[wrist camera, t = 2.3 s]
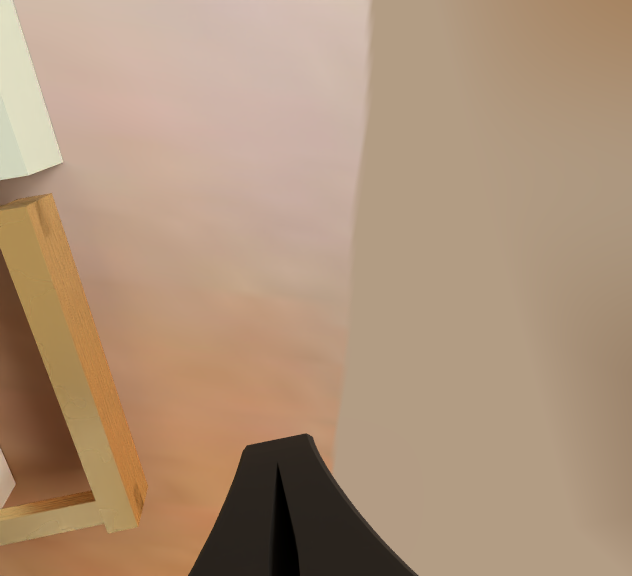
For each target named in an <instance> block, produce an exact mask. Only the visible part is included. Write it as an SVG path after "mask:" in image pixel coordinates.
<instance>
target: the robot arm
mask: <svg viewBox="0 0 632 576" xmlns="http://www.w3.org/2000/svg"><path fill="white" fill-rule="evenodd" d="M188 576H418V575H417V574H416V573H415V572H414V571H413V570H411V568H410V567H409V566H408V565H407V564H405V562H404V561H402V559H401V558H400V557H399V556H398V555H397V554H396V553H395V552H394V551H393V550H392V549H390V547H389V546H388V545H387V544H386V543H385V542H384V541H383V540H382V539H381V538H380V536H379V535H378V534H377V533H376V532H375V531H374V530H373V528H372V527H371V526H370V525H369V524H368V522H367V521H366V520H365V519H364V518H363V517H362V515H361V514H360V513H359V512H358V510H357V509H356V508H355V507H354V505H353V504H352V503H351V501H350V500H349V499H348V497H347V496H346V494H345V493H344V492H343V490H342V489H341V488H340V486H339V485H338V484H337V482H336V480H335V479H334V477H333V476H332V474H331V473H330V471H329V470H328V468H327V466H326V465H325V463H324V461H323V459H322V458H321V456H320V454H319V452H318V450H317V447H316V445H315V443H314V440H313V437H312V436H310V435H308V434H307V433H306V434H301V435H296V436H291V437H286V438H281V439H277V440H272V441H267V442H262V443H257V444H252V445H247V446H246V448H245V449H244V450H243V452H242V456H241V459H240V462H239V465H238V468H237V471H236V474H235V477H234V480H233V482H232V485H231V487H230V490H229V492H228V495H227V497H226V500H225V502H224V504H223V506H222V509H221V511H220V513H219V516H218V518H217V520H216V522H215V525H214V527H213V529H212V531H211V533H210V535H209V537H208V539H207V541H206V543H205V545H204V547H203V549H202V550H201V552H200V554H199V556H198V558H197V560H196V562H195V564H194V566H193V568H192V570H191V571H190V573H189V575H188Z"/></svg>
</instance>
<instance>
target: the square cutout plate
mask: <svg viewBox="0 0 632 576" xmlns="http://www.w3.org/2000/svg"><path fill="white" fill-rule="evenodd" d="M60 163H63V160H62V157H61V153H60V150H59V147H58V144H57V141H56V137H55V134H54V131H53V128H52V125H51V122H50V118H49V115H48V112H47V109H46V106H45V102H44V99H43V96H42V93H41V90H40V87H39V83H38V80H37V77H36V74H35V71H34V67H33V64H32V61H31V58H30V55H29V52H28V48H27V45H26V42H25V39H24V36H23V32H22V29H21V26H20V23H19V20H18V17H17V13H16V10H15V7H14V4H13V1H12V0H0V180H4V179H10V178H16V177H22V176H28V175H31V174H34V173H36V172H39V171H42V170H44V169H47V168H50V167H52V166H55V165H58V164H60Z"/></svg>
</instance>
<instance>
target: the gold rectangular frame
mask: <svg viewBox="0 0 632 576" xmlns="http://www.w3.org/2000/svg"><path fill="white" fill-rule="evenodd" d="M0 248H1V251H2V254H3V256H4V259H5V262H6V264H7V267H8V270H9V272H10V275H11V278H12V280H13V283H14V286H15V288H16V291H17V294H18V296H19V299H20V301H21V304H22V307H23V309H24V312H25V315H26V317H27V320H28V323H29V325H30V328H31V331H32V333H33V336H34V339H35V341H36V344H37V347H38V349H39V352H40V354H41V357H42V360H43V362H44V365H45V368H46V370H47V373H48V376H49V378H50V381H51V384H52V386H53V389H54V392H55V394H56V397H57V400H58V402H59V405H60V407H61V410H62V413H63V415H64V418H65V421H66V423H67V426H68V429H69V431H70V434H71V437H72V439H73V442H74V445H75V447H76V450H77V453H78V455H79V458H80V461H81V463H82V466H83V468H84V471H85V474H86V476H87V479H88V482H89V484H90V487H91V491H87V492H82V493H77V494H72V495H67V496H62V497H58V498H53V499H48V500H43V501H38V502H33V503H29V504H24V505H19V506H14V507H9V508H4V509H0V546H2V545H7V544H11V543H16V542H21V541H25V540H30V539H35V538H40V537H44V536H49V535H54V534H59V533H63V532H68V531H73V530H78V529H82V528H87V527H92V526H96V525H101V524H105V527H106V529H107V532H108V533H113V532H117V531H122V530H127V529H132V528H136V527H138V525H139V521H140V517H141V513H142V509H143V505H144V501H145V497H146V493H147V488H148V485H147V482H146V479H145V476H144V472H143V469H142V466H141V463H140V460H139V457H138V454H137V451H136V448H135V445H134V442H133V439H132V436H131V433H130V430H129V427H128V424H127V421H126V418H125V415H124V412H123V409H122V406H121V403H120V399H119V396H118V393H117V390H116V387H115V384H114V381H113V378H112V375H111V372H110V369H109V366H108V363H107V360H106V357H105V354H104V351H103V348H102V345H101V342H100V339H99V336H98V333H97V329H96V326H95V323H94V320H93V317H92V314H91V311H90V308H89V305H88V302H87V299H86V296H85V293H84V290H83V287H82V284H81V281H80V278H79V275H78V272H77V269H76V266H75V263H74V260H73V256H72V253H71V250H70V247H69V244H68V241H67V238H66V235H65V232H64V229H63V226H62V223H61V220H60V217H59V214H58V211H57V208H56V205H55V202H54V199H53V196H52V193H50V194H44V195H38V196H32V197H26V198H21V199H16V200H14V201H12V202H10V203H8V204H6V205H1V206H0Z"/></svg>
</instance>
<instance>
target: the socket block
mask: <svg viewBox="0 0 632 576" xmlns="http://www.w3.org/2000/svg"><path fill="white" fill-rule="evenodd" d="M15 485H16V483H15V481H14V478H13V476H12V474H11V471H10V469H9V467H8V465H7V462H6V460H5V458H4V455H3V453H2V451H1V449H0V509H2V507H3V506H4V504H5V502H6V500H7V499H8V497H9V495H10V494H11V492H12V490H13V488H14V487H15Z"/></svg>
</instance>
